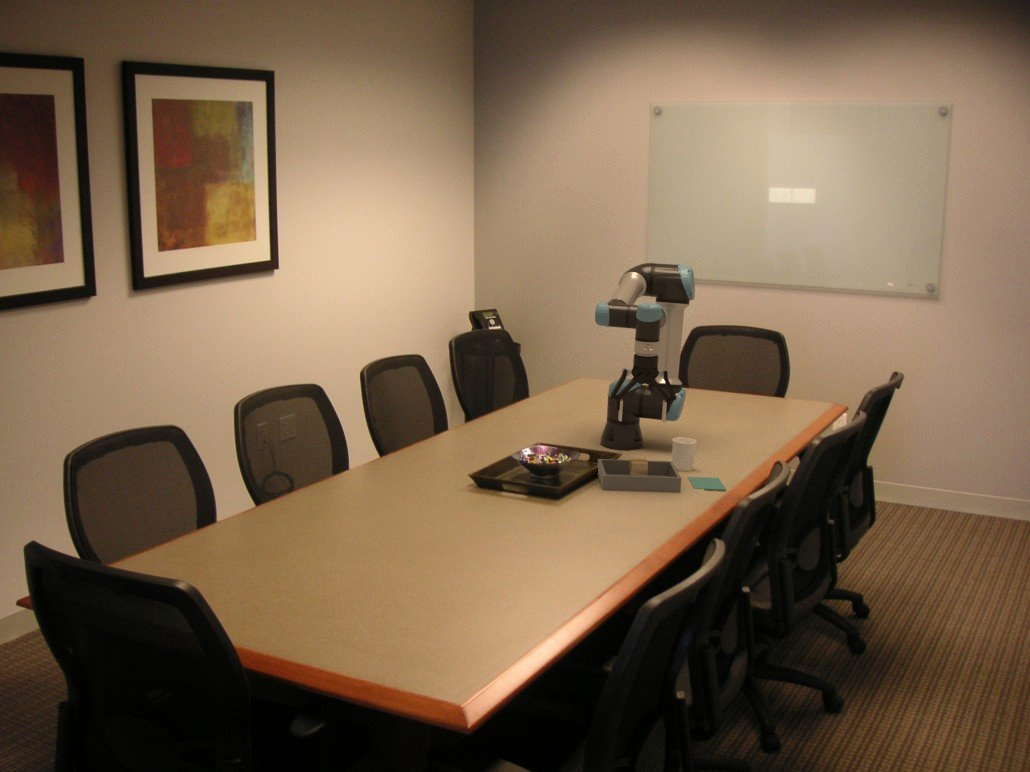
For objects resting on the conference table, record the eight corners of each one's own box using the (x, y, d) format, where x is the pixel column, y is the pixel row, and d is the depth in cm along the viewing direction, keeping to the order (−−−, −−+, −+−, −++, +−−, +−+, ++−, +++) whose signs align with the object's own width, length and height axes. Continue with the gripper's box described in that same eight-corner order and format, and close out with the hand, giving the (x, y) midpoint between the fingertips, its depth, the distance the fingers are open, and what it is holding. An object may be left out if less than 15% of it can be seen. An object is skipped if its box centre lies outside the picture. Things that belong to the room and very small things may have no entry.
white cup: (693, 473, 359) (696, 444, 357) (669, 471, 360) (671, 442, 358) (694, 467, 366) (697, 438, 364) (671, 464, 368) (673, 436, 366)
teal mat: (687, 478, 354) (687, 476, 354) (718, 479, 354) (718, 477, 354) (694, 490, 342) (694, 488, 342) (725, 491, 342) (726, 489, 342)
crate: (597, 473, 355) (598, 458, 354) (671, 476, 356) (672, 461, 354) (602, 491, 337) (603, 475, 336) (680, 493, 338) (681, 478, 337)
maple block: (628, 479, 349) (630, 458, 347) (644, 479, 349) (646, 458, 347) (630, 484, 344) (632, 462, 342) (646, 484, 344) (648, 463, 342)
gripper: (606, 354, 333) (602, 422, 338) (688, 357, 334) (683, 425, 338) (604, 350, 341) (600, 416, 345) (684, 353, 341) (679, 419, 346)
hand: (641, 421), depth 342 cm, fingers open, 13 cm apart
